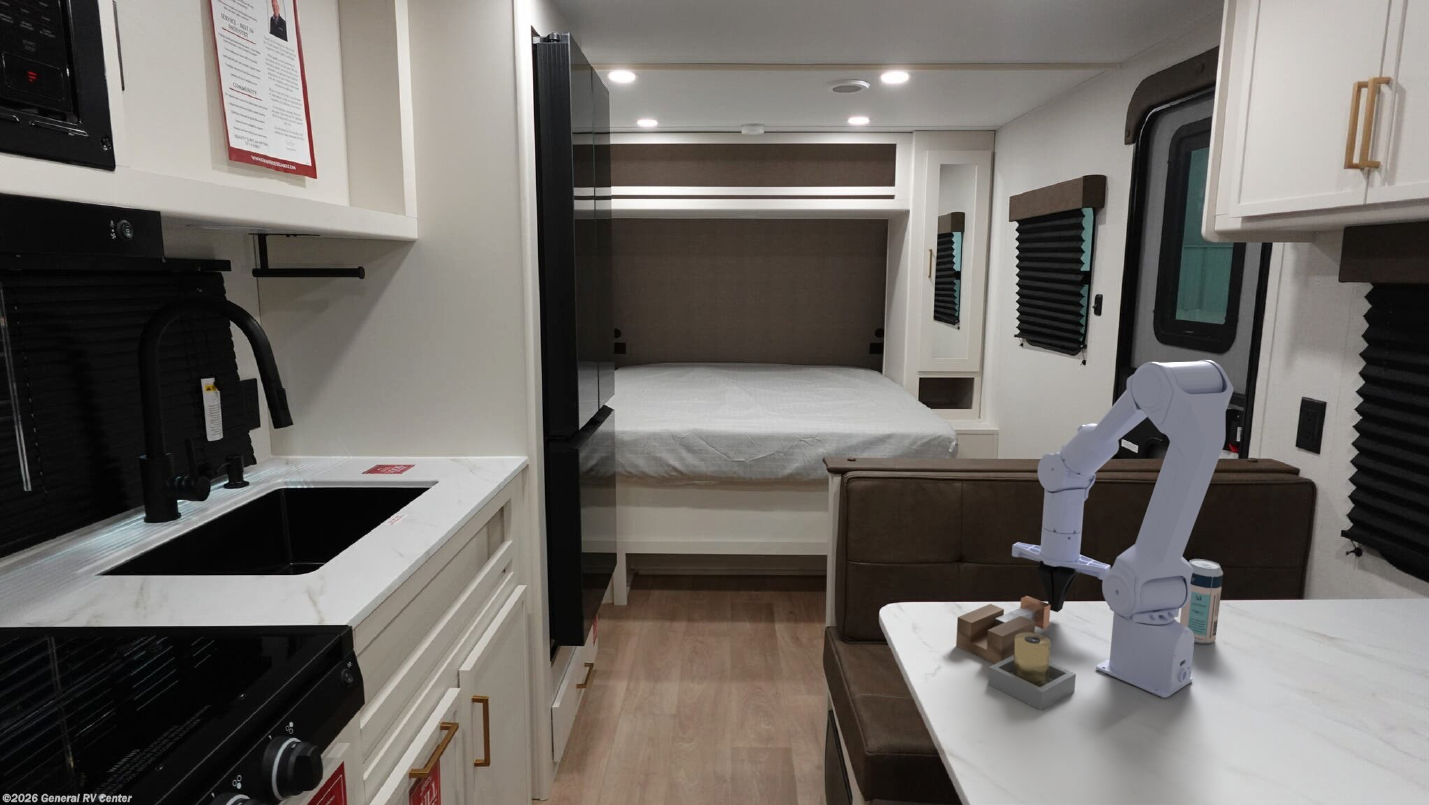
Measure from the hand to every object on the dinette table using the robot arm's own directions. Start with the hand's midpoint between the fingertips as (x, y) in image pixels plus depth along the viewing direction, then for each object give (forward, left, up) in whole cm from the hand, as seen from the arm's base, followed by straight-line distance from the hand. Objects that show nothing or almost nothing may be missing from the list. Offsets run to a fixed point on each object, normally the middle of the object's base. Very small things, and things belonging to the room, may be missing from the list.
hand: (1055, 609), depth 122 cm
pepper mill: (-10, +22, -1) cm, 24 cm away
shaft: (0, +10, -1) cm, 10 cm away
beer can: (-16, -12, -2) cm, 20 cm away
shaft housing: (0, +16, -2) cm, 16 cm away
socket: (-10, +22, -2) cm, 24 cm away
